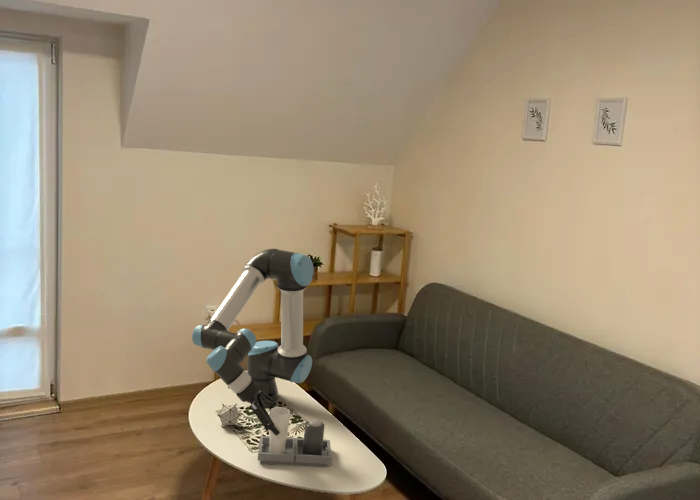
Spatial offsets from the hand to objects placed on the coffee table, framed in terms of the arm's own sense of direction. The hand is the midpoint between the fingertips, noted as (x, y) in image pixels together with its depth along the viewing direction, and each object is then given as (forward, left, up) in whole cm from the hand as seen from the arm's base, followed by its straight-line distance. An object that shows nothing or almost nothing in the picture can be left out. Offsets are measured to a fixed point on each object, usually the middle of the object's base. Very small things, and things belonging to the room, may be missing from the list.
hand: (285, 430), depth 221 cm
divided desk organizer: (0, +4, -9) cm, 10 cm away
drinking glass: (0, -2, -8) cm, 9 cm away
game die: (-20, -21, -9) cm, 30 cm away
